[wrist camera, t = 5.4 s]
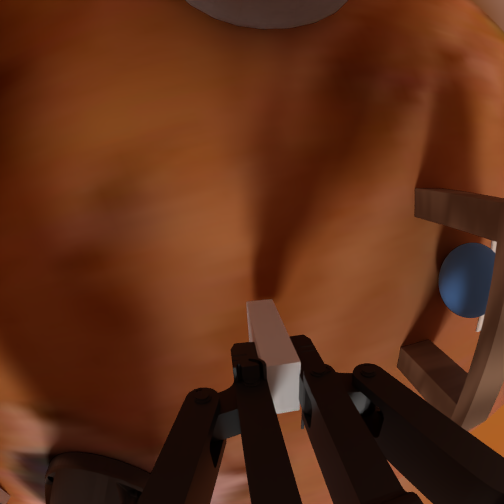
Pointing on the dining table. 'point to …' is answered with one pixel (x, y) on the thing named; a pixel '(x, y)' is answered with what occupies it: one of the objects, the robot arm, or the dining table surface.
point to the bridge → (494, 324)
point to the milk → (4, 497)
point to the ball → (467, 279)
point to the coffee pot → (268, 11)
